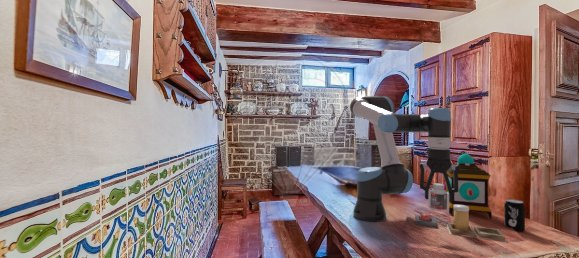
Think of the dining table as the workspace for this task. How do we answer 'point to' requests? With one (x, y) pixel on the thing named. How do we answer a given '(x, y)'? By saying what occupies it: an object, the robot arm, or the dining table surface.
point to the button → (425, 217)
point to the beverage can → (514, 214)
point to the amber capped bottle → (461, 217)
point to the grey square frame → (425, 222)
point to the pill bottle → (438, 197)
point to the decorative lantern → (470, 186)
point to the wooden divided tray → (478, 233)
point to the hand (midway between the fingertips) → (438, 208)
